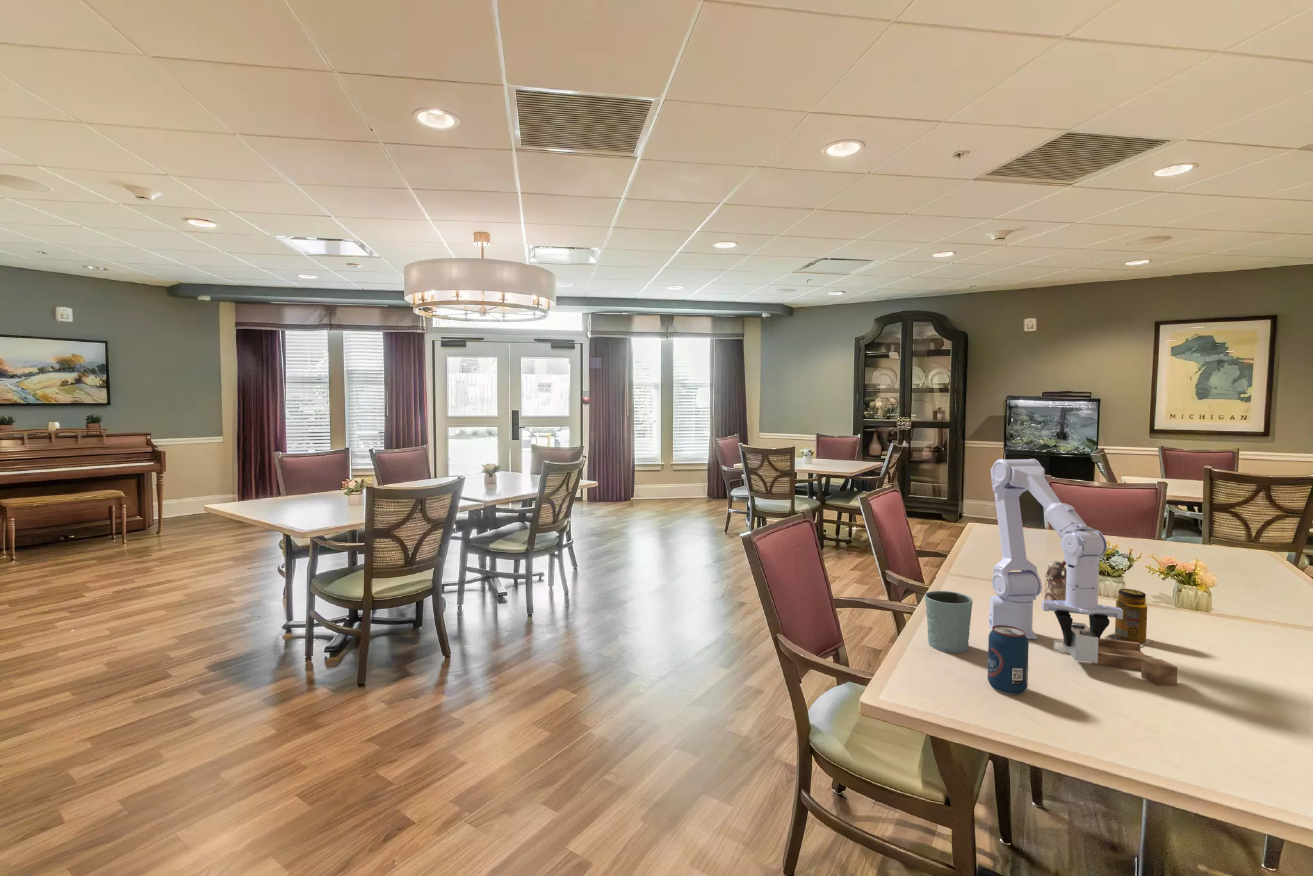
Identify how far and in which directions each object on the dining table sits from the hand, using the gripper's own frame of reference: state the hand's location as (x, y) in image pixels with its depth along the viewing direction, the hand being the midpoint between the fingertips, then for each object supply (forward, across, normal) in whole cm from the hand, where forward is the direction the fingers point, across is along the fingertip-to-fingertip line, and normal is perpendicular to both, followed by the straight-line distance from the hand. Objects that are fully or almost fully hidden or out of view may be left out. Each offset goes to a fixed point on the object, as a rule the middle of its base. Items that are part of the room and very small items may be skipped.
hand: (1079, 646), depth 130 cm
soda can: (+5, -17, -18) cm, 25 cm away
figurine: (+5, +8, +53) cm, 54 cm away
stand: (+4, +9, +8) cm, 13 cm away
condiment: (+5, +16, +23) cm, 28 cm away
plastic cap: (+5, -1, +9) cm, 10 cm away
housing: (+2, 0, 0) cm, 2 cm away
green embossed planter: (+5, -26, +2) cm, 26 cm away
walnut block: (+4, +13, -3) cm, 14 cm away
